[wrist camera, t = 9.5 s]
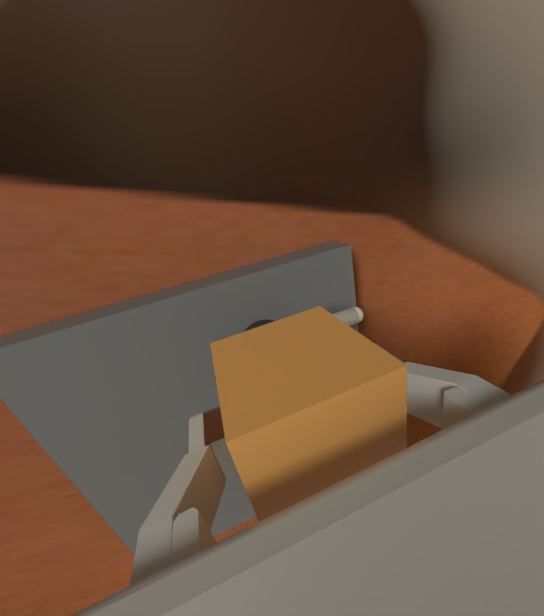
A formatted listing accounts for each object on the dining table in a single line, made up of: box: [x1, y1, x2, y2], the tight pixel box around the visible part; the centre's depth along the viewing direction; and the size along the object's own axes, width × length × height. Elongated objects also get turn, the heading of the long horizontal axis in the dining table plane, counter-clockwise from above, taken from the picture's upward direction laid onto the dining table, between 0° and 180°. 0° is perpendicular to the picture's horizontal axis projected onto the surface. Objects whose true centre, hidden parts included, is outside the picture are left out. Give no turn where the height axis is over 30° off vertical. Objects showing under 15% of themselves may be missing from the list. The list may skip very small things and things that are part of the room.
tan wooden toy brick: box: [210, 306, 407, 521], centre depth 9 cm, size 5×5×5 cm
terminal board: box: [0, 241, 364, 555], centre depth 13 cm, size 18×18×9 cm
